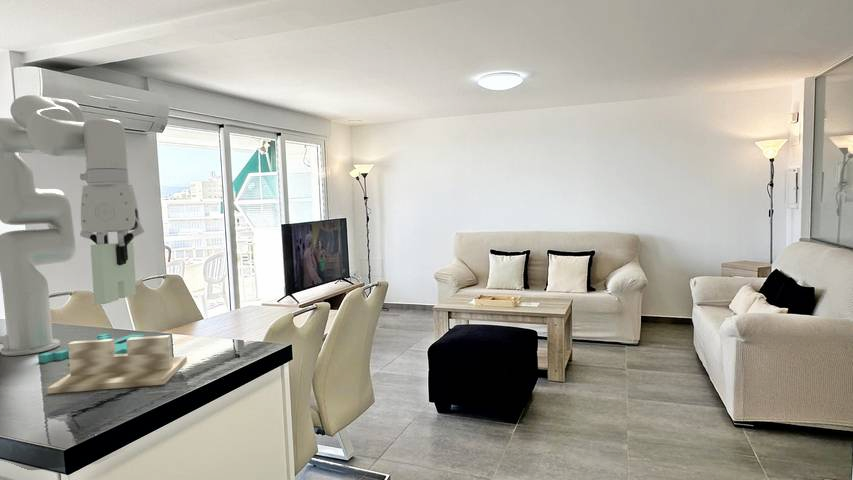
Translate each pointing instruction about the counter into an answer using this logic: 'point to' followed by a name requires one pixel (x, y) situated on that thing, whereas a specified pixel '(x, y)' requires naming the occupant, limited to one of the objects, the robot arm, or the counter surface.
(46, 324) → the robot arm
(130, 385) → the cross stand
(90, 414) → the counter surface
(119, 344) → the alien figure
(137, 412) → the counter surface
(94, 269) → the slotted plate
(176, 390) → the counter surface
